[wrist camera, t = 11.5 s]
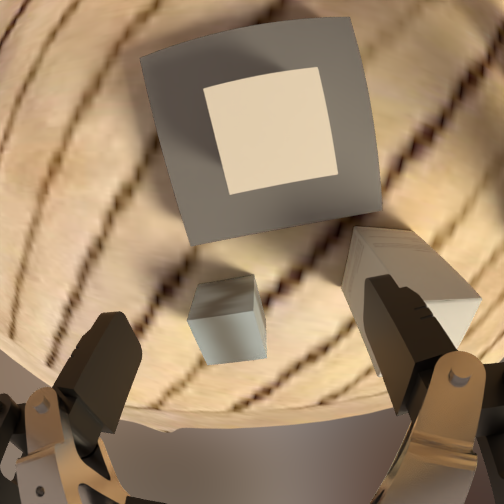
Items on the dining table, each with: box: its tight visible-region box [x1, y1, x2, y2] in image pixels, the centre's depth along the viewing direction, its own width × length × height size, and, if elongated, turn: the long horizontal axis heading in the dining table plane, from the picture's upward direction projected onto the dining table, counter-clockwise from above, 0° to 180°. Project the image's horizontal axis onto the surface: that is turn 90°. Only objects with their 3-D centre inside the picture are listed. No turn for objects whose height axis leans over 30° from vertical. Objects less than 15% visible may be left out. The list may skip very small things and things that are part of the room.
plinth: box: [140, 17, 382, 246], centre depth 21 cm, size 16×16×4 cm
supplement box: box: [341, 226, 482, 377], centre depth 23 cm, size 7×7×13 cm
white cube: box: [203, 67, 338, 195], centre depth 17 cm, size 6×6×6 cm
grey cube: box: [187, 275, 267, 365], centre depth 28 cm, size 6×6×6 cm
